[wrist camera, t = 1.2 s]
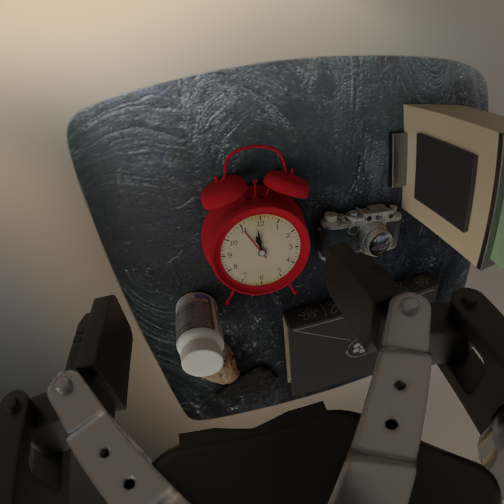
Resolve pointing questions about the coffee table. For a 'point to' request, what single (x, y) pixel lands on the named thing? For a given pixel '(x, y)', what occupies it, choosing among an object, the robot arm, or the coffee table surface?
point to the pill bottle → (199, 334)
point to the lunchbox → (499, 242)
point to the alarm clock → (255, 230)
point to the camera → (361, 229)
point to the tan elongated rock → (226, 368)
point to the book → (333, 341)
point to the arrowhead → (248, 384)
